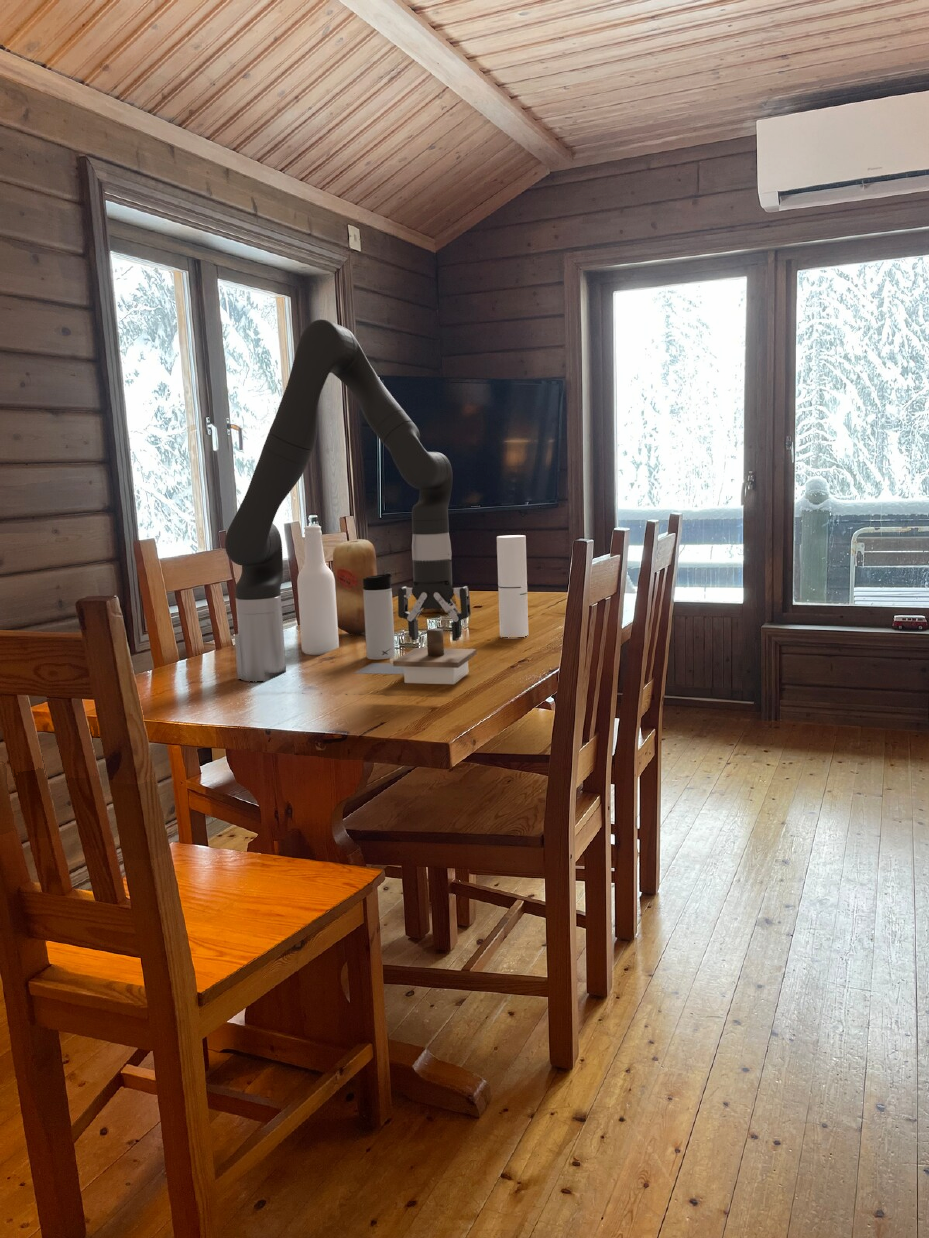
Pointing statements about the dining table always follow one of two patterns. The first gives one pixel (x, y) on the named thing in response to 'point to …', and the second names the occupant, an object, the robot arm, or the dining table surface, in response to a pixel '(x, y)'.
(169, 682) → the dining table surface
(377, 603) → the travel mug
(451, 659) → the lid
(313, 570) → the alcohol
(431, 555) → the robot arm
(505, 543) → the cylindrical container
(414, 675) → the dish
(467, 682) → the dining table surface
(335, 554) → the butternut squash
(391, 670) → the mat
